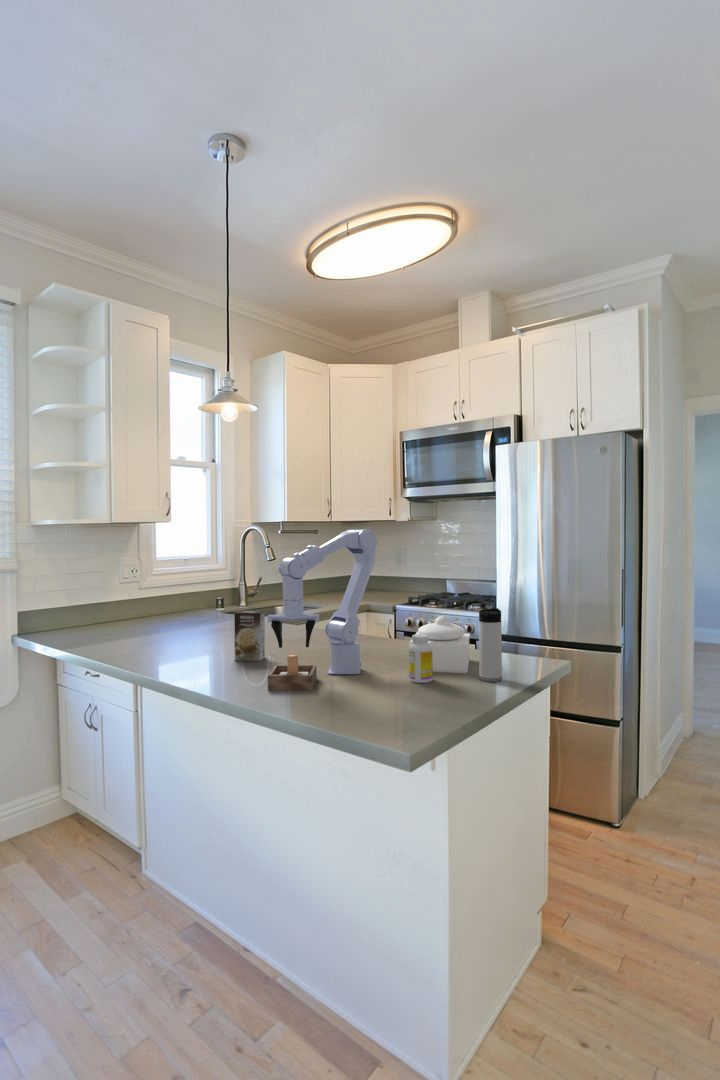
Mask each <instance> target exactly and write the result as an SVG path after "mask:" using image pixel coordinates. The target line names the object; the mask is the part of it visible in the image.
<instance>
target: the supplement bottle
mask: <svg viewBox="0 0 720 1080" xmlns="http://www.w3.org/2000/svg"><path fill="white" fill-rule="evenodd" d="M415 634H416V633H415ZM415 634H412V636H411V639H412V641H413V644H411V645H410V646H409V645H408V678H409V681H410V682H411V683H417V684H428V683H430V682H432V681H433V678H434V676H433V673H434V672H433V664H432V646H431V645H430V644H428V640H429V636H428V635H424V634H416V635H415Z"/></svg>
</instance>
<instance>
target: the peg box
mask: <svg viewBox="0 0 720 1080" xmlns="http://www.w3.org/2000/svg"><path fill="white" fill-rule="evenodd" d="M317 675H318V674H317V664H298V675H288V670H287V664H275V665H274V666H273V667H272V669H271V670H270V672H269V673H268V674H267V691H313V689H314V686H315V683H316V681H317V679H318V678H317Z"/></svg>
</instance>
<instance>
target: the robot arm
mask: <svg viewBox="0 0 720 1080" xmlns="http://www.w3.org/2000/svg"><path fill="white" fill-rule="evenodd" d="M378 541H379V540H378V539H377V537H376V534H375V532H374V531H373V530H372V529H369V528H366V529H352V528H349V529H347V530H345V531H342V532H341V533H339V534H337V536H335V537H334V538H331V539H330V540H329V541H327V542H325V543H323V544H322V545H320V546H318V545H314V544H313V545H307V546H306V549H304V550H302V551H300V552H295V553H293V556H292V557H286V558H283V559H282V561H281V562H280V565H279V567H278V573H279V574H280V576H281V579H282V580H281V581H282V602H283V603H282V604H283V605H282V608H283V610H282V612H283V613H280V614H268V615H267V623H271V624H270V627H271V629H272V630H273V632H274V635H275V637H276V639H277V644H278V648H279V649H282V647H283V623H293V622H295V623H296V622H297V623H298V622H299V623H301V622H302V623H303V622H306V623H305V648H309V647H310V641H311V637H312V633H313V630H314V628H315V625H316V623H319V622H320V614H319V613H304V577H305V576H306V574H307V572H308V571H310V570H312V569H314V568H315V567H317V566H319V565H321V564H323V563H324V561H325V557H327V556H329V555H331V554H333V553H336V552H338V551H340V550H342V549H344V548H346V549H347V550H348V551H349V553H350V554H351V555H352V557H354V560H355V565H354V567H353V570H352V573H351V575H350V579H349V581H348V583H347V586H346V589H345V592H344V595H343V598H342V600H341V602H340V606H339V608H338V609H337V610H336V611H334V612H333V613H332V616H331V617H330V619H329V620H328V621H327V622H326V624H325V627H324V632H325V635H326V636H327V638H328V642H329V663H330V665H329V669H328V672H327V673H328V675H360V674H361V668H362V660H361V642H358V641H357V642H356V640H357V638H358V637H359V626H360V622H361V621H360V619H359V617H358V616H357V614H358V610H359V608H360V604H361V602H362V600H363V596H364V593H365V590H366V588H367V586H368V582H369V581H370V580H369V579H370V576H371V573H372V571H373V567H374V565H375V562H376V548H377V546H378V543H379V542H378Z"/></svg>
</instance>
